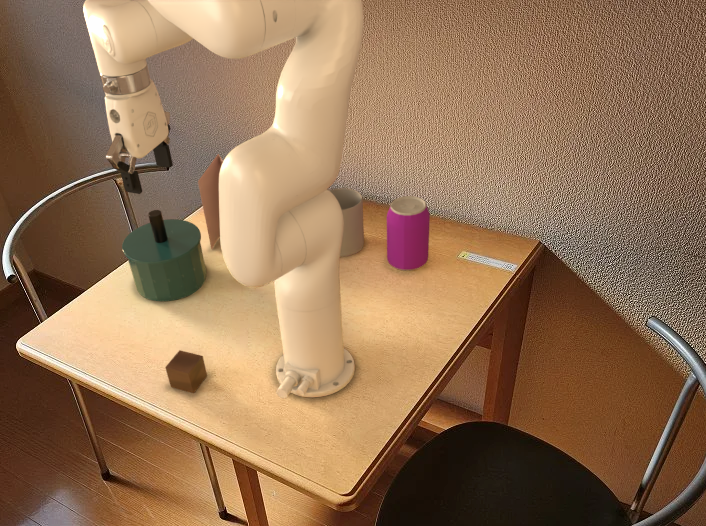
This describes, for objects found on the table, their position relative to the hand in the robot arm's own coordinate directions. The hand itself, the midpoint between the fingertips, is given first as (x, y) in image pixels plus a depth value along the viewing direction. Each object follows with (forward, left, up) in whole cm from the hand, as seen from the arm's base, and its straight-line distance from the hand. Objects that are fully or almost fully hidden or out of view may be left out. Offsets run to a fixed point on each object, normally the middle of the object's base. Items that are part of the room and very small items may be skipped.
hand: (149, 178), depth 128 cm
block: (-25, -18, -21) cm, 37 cm away
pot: (-1, 0, -21) cm, 21 cm away
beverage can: (+18, -41, -21) cm, 49 cm away
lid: (-1, 0, -12) cm, 12 cm away
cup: (+20, -27, -21) cm, 40 cm away
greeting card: (+17, -4, -21) cm, 27 cm away
